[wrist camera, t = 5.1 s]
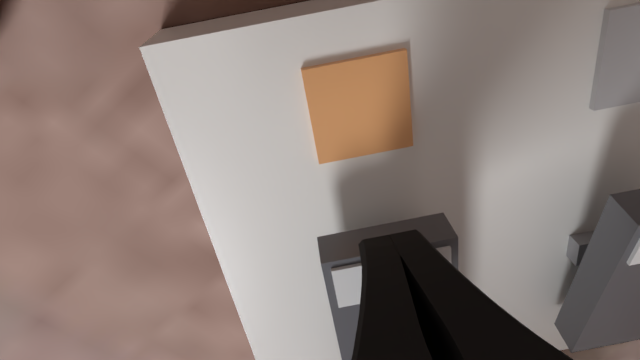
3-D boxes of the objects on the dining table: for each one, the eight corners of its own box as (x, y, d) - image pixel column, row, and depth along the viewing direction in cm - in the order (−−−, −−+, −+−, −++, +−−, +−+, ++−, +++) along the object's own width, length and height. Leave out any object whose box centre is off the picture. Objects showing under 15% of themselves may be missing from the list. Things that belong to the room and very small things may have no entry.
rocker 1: (446, 363, 14) (459, 395, 13) (348, 383, 14) (353, 416, 13) (443, 212, 11) (460, 239, 10) (316, 237, 11) (321, 266, 10)
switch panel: (832, 250, 17) (911, 295, 15) (272, 359, 17) (273, 419, 15) (1050, -144, 11) (1240, -164, 9) (160, 29, 11) (132, 52, 9)
